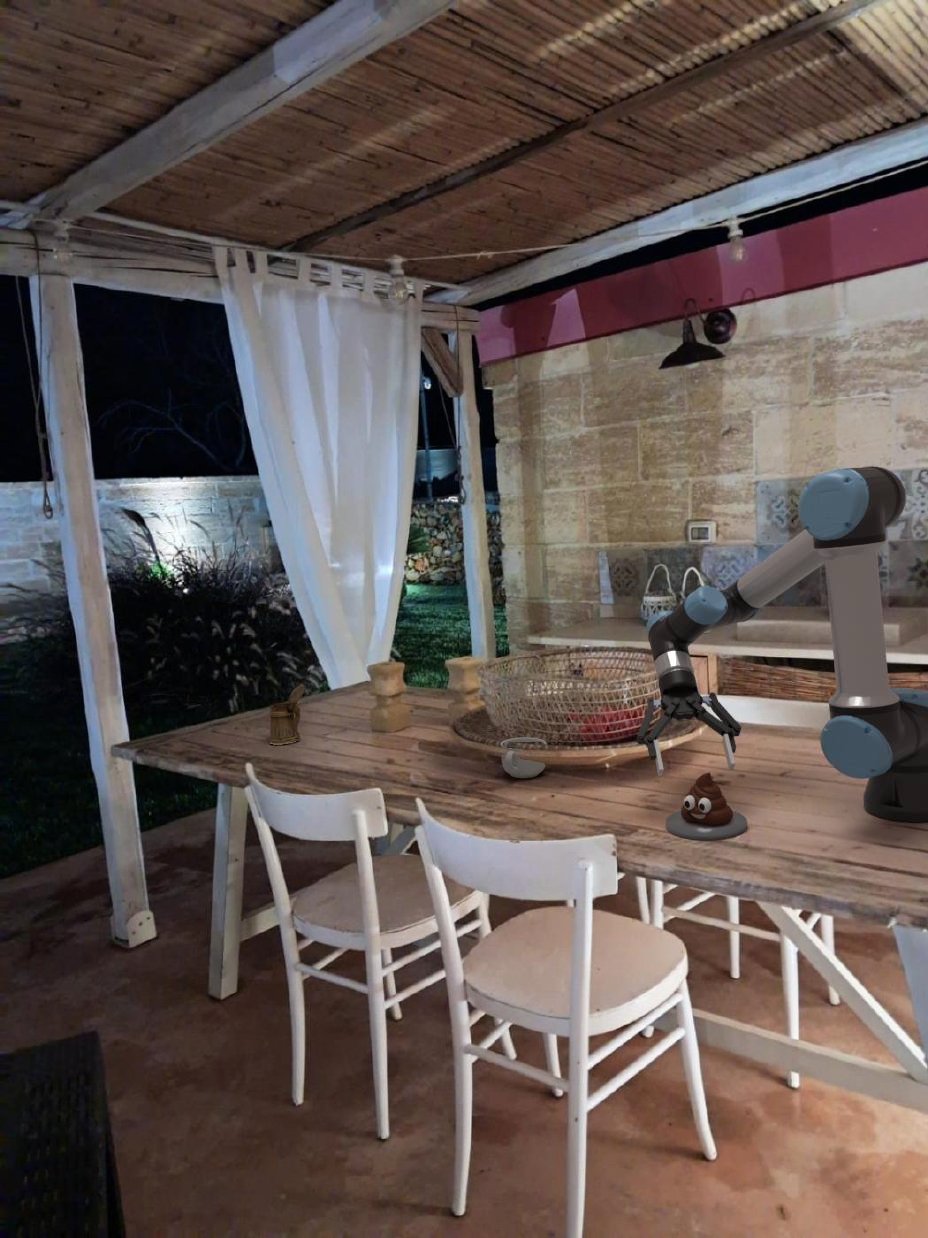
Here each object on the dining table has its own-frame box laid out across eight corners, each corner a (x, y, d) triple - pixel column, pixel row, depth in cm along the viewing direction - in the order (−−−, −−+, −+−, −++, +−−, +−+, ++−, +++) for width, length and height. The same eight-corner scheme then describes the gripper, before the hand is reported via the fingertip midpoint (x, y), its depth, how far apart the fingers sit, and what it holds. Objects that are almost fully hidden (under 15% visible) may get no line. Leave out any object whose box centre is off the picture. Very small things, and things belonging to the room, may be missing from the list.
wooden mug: (299, 747, 266) (291, 686, 263) (263, 745, 272) (256, 685, 270) (318, 739, 273) (311, 679, 271) (283, 737, 280) (276, 679, 278)
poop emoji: (741, 817, 176) (738, 769, 175) (719, 831, 170) (716, 782, 169) (694, 808, 183) (691, 762, 182) (671, 822, 177) (668, 774, 176)
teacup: (520, 766, 227) (518, 734, 226) (557, 771, 220) (555, 738, 219) (485, 782, 216) (482, 749, 215) (523, 788, 209) (520, 753, 208)
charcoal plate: (735, 809, 183) (735, 805, 183) (756, 837, 168) (756, 831, 168) (659, 815, 184) (659, 810, 184) (673, 843, 169) (673, 838, 169)
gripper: (734, 683, 193) (758, 774, 180) (614, 693, 194) (630, 784, 181) (739, 662, 187) (765, 754, 174) (616, 673, 188) (632, 765, 175)
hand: (696, 770), depth 178 cm, fingers open, 13 cm apart
